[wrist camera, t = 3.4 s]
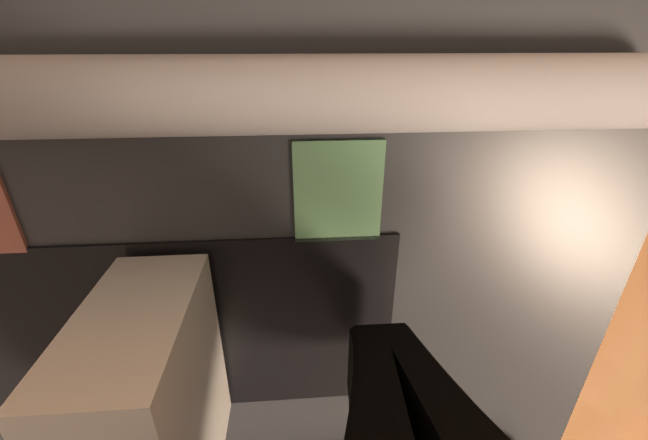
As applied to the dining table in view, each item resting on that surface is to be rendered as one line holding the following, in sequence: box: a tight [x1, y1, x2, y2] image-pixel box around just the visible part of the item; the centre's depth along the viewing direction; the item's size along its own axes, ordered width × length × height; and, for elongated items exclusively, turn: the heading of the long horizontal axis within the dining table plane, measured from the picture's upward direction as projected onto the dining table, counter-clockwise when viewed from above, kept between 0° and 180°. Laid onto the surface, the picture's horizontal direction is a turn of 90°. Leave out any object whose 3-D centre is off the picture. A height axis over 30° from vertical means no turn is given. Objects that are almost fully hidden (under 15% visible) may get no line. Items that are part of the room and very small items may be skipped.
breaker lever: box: [0, 254, 231, 440], centre depth 8 cm, size 5×2×4 cm, turn 0°
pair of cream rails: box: [0, 53, 648, 140], centre depth 9 cm, size 13×21×1 cm, turn 90°
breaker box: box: [0, 0, 648, 440], centre depth 11 cm, size 16×24×3 cm, turn 90°
